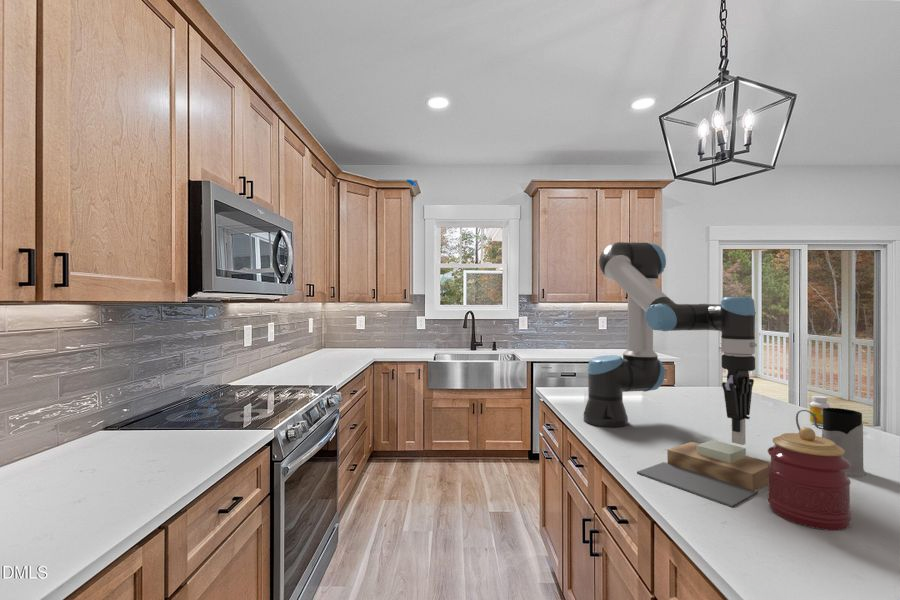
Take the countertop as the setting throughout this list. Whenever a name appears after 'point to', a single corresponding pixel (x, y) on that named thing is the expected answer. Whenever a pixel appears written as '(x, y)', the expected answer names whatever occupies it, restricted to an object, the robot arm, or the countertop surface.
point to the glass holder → (844, 435)
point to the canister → (809, 481)
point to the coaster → (721, 451)
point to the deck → (721, 467)
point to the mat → (699, 484)
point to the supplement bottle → (818, 409)
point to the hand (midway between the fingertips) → (738, 443)
